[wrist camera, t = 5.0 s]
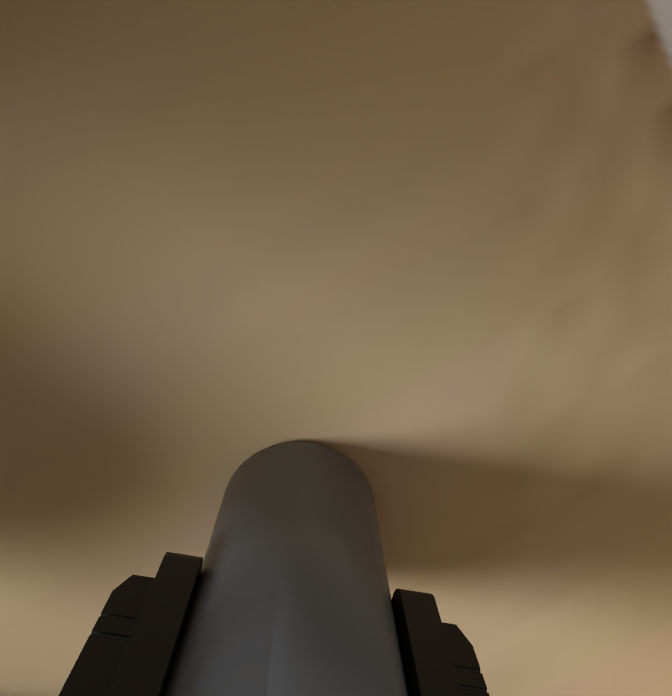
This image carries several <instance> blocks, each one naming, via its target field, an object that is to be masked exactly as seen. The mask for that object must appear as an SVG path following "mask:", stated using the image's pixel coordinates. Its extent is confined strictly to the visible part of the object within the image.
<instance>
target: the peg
mask: <svg viewBox="0 0 672 696" xmlns="http://www.w3.org/2000/svg"><path fill="white" fill-rule="evenodd" d="M163 696H408V691H407V686H406V680H405V674H404V669H403V663H402V657H401V652H400V646H399V641H398V635H397V629H396V624H395V618H394V612H393V607H392V601H391V595H390V590H389V584H388V579H387V573H386V567H385V562H384V556H383V550H382V545H381V539H380V533H379V528H378V522H377V517H376V511H375V505H374V500H373V495H372V492H371V488H370V486H369V484H368V481H367V480H366V478H365V476H364V475H363V473H362V472H361V471H360V469H359V468H358V467H357V466H356V465H355V464H354V463H353V462H352V461H351V460H350V459H348V458H347V457H346V456H344V455H343V454H341V453H339V452H338V451H336V450H334V449H332V448H329V447H326V446H324V445H320V444H315V443H309V442H288V443H281V444H277V445H273V446H271V447H268V448H266V449H263V450H261V451H259V452H258V453H256V454H254V455H253V456H251V457H250V458H249V459H247V460H246V461H245V462H244V463H243V464H242V465H241V466H240V467H239V468H238V469H237V471H236V472H235V473H234V474H233V476H232V478H231V480H230V481H229V483H228V486H227V488H226V491H225V494H224V497H223V501H222V504H221V507H220V510H219V513H218V517H217V520H216V523H215V526H214V529H213V533H212V536H211V539H210V542H209V546H208V549H207V552H206V555H205V558H204V562H203V565H202V571H201V575H200V578H199V581H198V584H197V588H196V591H195V594H194V597H193V601H192V604H191V607H190V610H189V614H188V617H187V620H186V623H185V627H184V630H183V633H182V636H181V640H180V643H179V646H178V649H177V653H176V656H175V659H174V662H173V666H172V669H171V672H170V675H169V679H168V682H167V685H166V688H165V692H164V695H163Z"/></svg>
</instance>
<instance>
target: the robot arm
mask: <svg viewBox="0 0 672 696" xmlns="http://www.w3.org/2000/svg"><path fill="white" fill-rule="evenodd" d="M202 564H203V558H202V557H196V556H190V555H183V554H177V553H170V552H166V554H165V556H164V558H163V560H162V563H161V565H160V567H159V570H158V572H157V575H156V577H155V578H151V577H145V576H138V575H132V576H130V577H129V578H128V579H127V580H126V581H124V582H123V583H122V584H121V585H119V586H118V587H117V588H116V589H115V590H113V591H112V593H111V595H110V597H109V599H108V601H107V603H106V605H105V607H104V608H103V610H102V612H101V616H100V617H99V618H98V620H97V622H96V624H95V626H94V628H93V630H92V633H91V635H90V636H89V638H88V640H87V641H86V643H85V645H84V647H83V649H82V651H81V653H80V655H79V657H78V659H77V661H76V663H75V665H74V667H73V669H72V671H71V673H70V674H69V676H68V678H67V680H66V682H65V684H64V686H63V688H62V690H61V692H60V694H59V696H163V695H164V692H165V688H166V685H167V682H168V679H169V675H170V672H171V669H172V666H173V662H174V659H175V656H176V653H177V649H178V646H179V643H180V640H181V636H182V633H183V630H184V627H185V623H186V620H187V617H188V614H189V610H190V607H191V604H192V601H193V597H194V594H195V591H196V588H197V584H198V581H199V578H200V575H201V571H202ZM391 601H392V607H393V612H394V618H395V624H396V629H397V635H398V641H399V646H400V652H401V657H402V663H403V669H404V674H405V680H406V686H407V691H408V696H489V693H487V687H486V684H485V681H484V678H483V675H482V673H480V666H479V663H478V660H477V657H476V654H475V651H474V649H473V646H472V644H471V643H470V642H469V641H468V639H467V638H466V637H465V636H464V634H463V633H462V632H461V630H460V629H459V628H458V627H457V625H455V624H448V623H442V622H441V619H440V615H439V612H438V608H437V605H436V601H435V598H434V596H433V595H432V594H429V593H422V592H416V591H410V590H403V589H396V590H395V592H394V594H393V597H392V600H391Z"/></svg>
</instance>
